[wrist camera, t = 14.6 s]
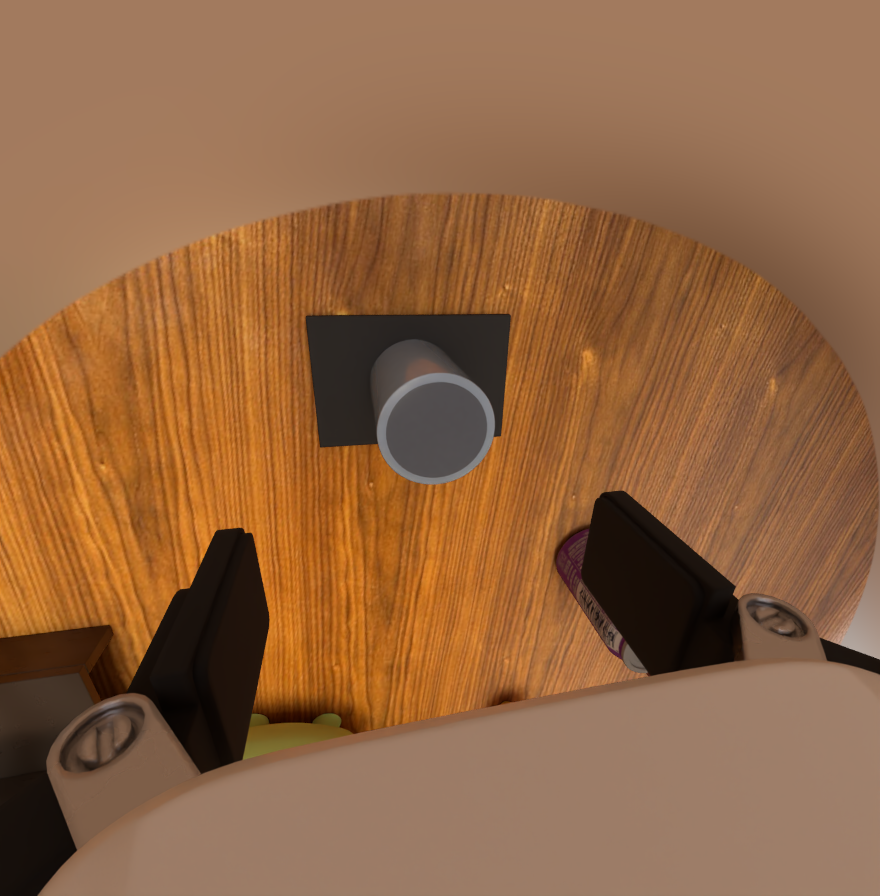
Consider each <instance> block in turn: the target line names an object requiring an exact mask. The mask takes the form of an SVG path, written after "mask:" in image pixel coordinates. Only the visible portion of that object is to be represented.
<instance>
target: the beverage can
mask: <svg viewBox="0 0 880 896" xmlns="http://www.w3.org/2000/svg"><path fill="white" fill-rule="evenodd" d="M589 529H590V528H589ZM589 529H586V530H583V531H581V532H579V533H577V534H575V535H574V536H572V537H571V538H570V539H569V540H568V541H567V542H566V543H565V544H564V545H563V546H562V548H561V550H560V551H559V554H558V557H557V562H556V566H557V570H558V573H559V574H560V576H561V578H562V579H563V581H564V582H565V584H566V585H567V587H568V588H569V590H570V591H571V593H572V594H573V596H574V597H575V599H576V600H577V602H578V604H579V605H580V607H581V608H582V610H583V611H584V613H585V614H586V616H587V617H588V619H589V620H590V622H591V623H592V625H593V626H594V628H595V630H596V631H597V633H598V634H599V636H600V637H601V639H602V640H603V642H604V643H605V645H606V646H607V648H608V649H609V651H610V652H611V653H612V654H614V655H615V656H617V657H618V658H620V659H622V660H623V662H624V663H625V665H626V666H627V667H628V668H629V669H630V670H632V671H634V672H638V673H648V672H647V670H646V669H645V667H644V666H643V665H642V663H641V662H640V661H639V659H638V658H637V656H636V655H635V654H634V652H633V651H632V649H631V648H630V647H629V645H628V644H627V643H626V641H625V640H624V638H623V637H622V636H621V634H620V633H619V631H618V630H617V629H616V627H615V626H614V624H613V623H612V622H611V620H610V619H609V618H608V616H607V615H606V613H605V612H604V611H603V609H602V608H601V606H600V605H599V604H598V602H597V601H596V599H595V598H594V597H593V595H592V594H591V593H590V591H589V590H588V588H587V587H586V586H585V584H584V582H583V580H582V577H581V568H582V563H583V558H584V553H585V548H586V544H587V539H588V534H589Z"/></svg>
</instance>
